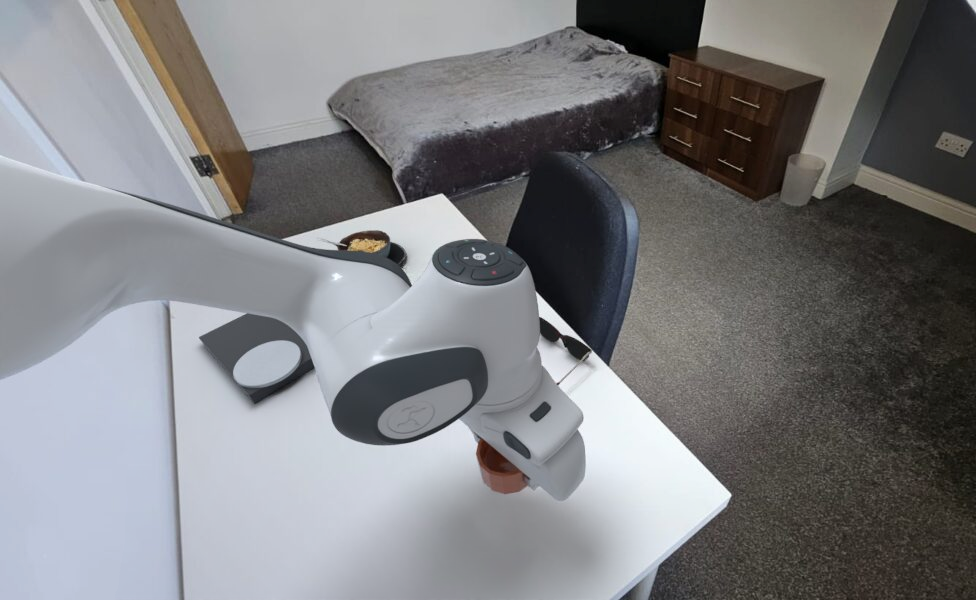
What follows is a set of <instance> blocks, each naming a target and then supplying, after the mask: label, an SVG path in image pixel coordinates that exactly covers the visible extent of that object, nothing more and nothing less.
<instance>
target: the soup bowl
mask: <svg viewBox="0 0 976 600" xmlns="http://www.w3.org/2000/svg"><path fill="white" fill-rule="evenodd" d="M314 239H315V241H318V242H324V243H328V244H331V245H333V246H335V247H336V248H337V250H347V251H363V252H370V253H374V254H378V255H381V256H384V257H386V258H388V259H390V260H392V261H393V262H395V263H396V264H397V265H399V266H400V264H401V263H403V262H404V261H405V259H406V254H407V253H406V249H404V247H403V246H402V245H400V244H399V243H396V242H393V241H391V237H390V236H389V234H387V233H386V232H385V231H383V230H379V229H377V230H376V229H375V230H374V229H373V230H372V229H369V230H362V231H358V232H354V233H351V234H349V235H347V236H346V237H343V238H341V240H340V241H339V242H337V241H334V240H331V239H327V238H322V237H315V238H314Z"/></svg>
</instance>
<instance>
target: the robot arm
mask: <svg viewBox="0 0 976 600" xmlns="http://www.w3.org/2000/svg"><path fill="white" fill-rule="evenodd" d="M152 301H153V302H157V301H163V302H164V301H165V302H167V301H168V302H178V303H185V304H190V305H194V306H195V305H196V306H202V307H207V308H214V309H219V310H225V311H231V312H237V313H243V314H247V313H248V314H254V315H260V316H266V317H271V318H275V319H278V320H280V321H282V322H284V323H285V324H287V325H288V326H289V327H291V328H292V329H293V330H294V331H295V332H296V333H297V334H298V335H299V336H300V337H301V338H302V339H303V341H304V342H305V343H306V345H307V347H308V350H309V353H310V356H311V358H312V361H313V364H314V370H315V372H316V373H315V374H316V378H317V382H318V385H319V387H320V391H321V394H322V397H323V399H324V402H325V405H326V408H327V410H328V413H329V415H330V417H331V422H332V424H333V426H334V428H335V430H337V432H338V433H339V434H341V435H342V436H344V437H345V438H348V439H349V440H352V441H355V442H357V443H361V444H365V445H370V446H384V447H385V446H399V445H405V444H411V443H415V442H417V441H421V440H422V439H425V438H427V437H430V436H432V435H434V434H436V433H438V432H440V431H442V430H444V429H446V428H447V427H449V426H451V425H452V424H454V423H455V422H456V421H458V420H459V421H461V423H463V424H464V425H465V426H466V427H468V429H469V431H470V432H471V434H472V435H473V439H474V441H475V442H476V443H477V444H478V442H479V440H480V439H481V438H482V439H484V440H485V441H486V442H487V443H488V444H490V445H491V446H492V447H493V448H494V449H496V450H497V451H498V452H499V453H500V454H502V455H503V456H504V457H505V458H506V459H508V460H509V461H510V462H511V463H512V464H513V465H515V466H516V467H517V468H518V469H519V470H521V471H522V472H523V473H524V474H525V475H524V480H525V481H524V483H526V484H527V485H528V486H527V487H528V488H530V489H531V490H532V491H536V490H537V489H538V488H541V489H542V490H543V491H544V492H545V493H547V494H548V495H549V496H550V497H551V498H553V499H554V500H556V501H558V502H564V501H566V500H567V499H569V498H570V497H571V496H572V494H574V492H575V491H576V490H577V489H578V488H579V487H580V485H581V484H582V482H583V481H584V479H585V476H586V465H587V464H586V463H587V461H586V457H587V456H586V446H585V441H584V438H583V436H582V434H581V432H580V431H579V428H580V427H581V425H582V424H583V423H584V417H585V416H584V412H583V411H582V409H581V408H580V407H579V406H578V404H577V403H575V402H574V401H573V400H572V399H571V398H570V397H569V396H568V395H567V393H565V392H564V391H563V390H562V388H561V387H560V386H559V385H557V384H556V383H557V382H556V381H555V380H554V378H553V377H552V375H551V374H550V372H549V371H548V370H547V368H546V367H545V366H544V365H543V361H542V357H541V353H540V351H539V349H538V346H539V343H540V339H541V338H540V337H541V334H540V321H539V317H540V313H539V312H540V310H539V303H538V296H537V291H536V285H535V282H534V278H533V275H532V272H531V270H530V267H529V266H528V264H527V263H526V261H525V260H524V259H523V258H522V257H521V256H520V255H519V254H517V253H516V252H515V251H514V250H513V249H511V248H509V247H508V246H506V245H503V244H502V243H500V242H495V241H492V240H487V239H484V238H483V239H482V238H481V239H480V238H465V239H458V240H454V241H453V240H452V241H450V242H447V243H445V244H443V245H441V246H439V247H438V248H437V249H436V250H435V251H433V253H432V255H431V256H430V258H429V261H428V263H427V266H426V268H425V269H424V271H422V273H421V274H420V276H419V277H418V278H417V279H416V280H415V282H413V284H412V282H411V280H410V277H409V276H408V274H407V273H406V272H405V270H404V269H403V267H401V266H400V264H399V265H397V264H396V263H395V262H393V261H392V260H390V259H388V258H386V257H384V256H381V255H378V254H374V253H370V252H363V251H347V250H338V249H325V248H316V247H311V246H305V245H302V244H298V243H295V242H292V241H288V240H285V239H282V238H278V237H276V236H273V235H270V234H266V233H263V232H260V231H256V230H253V229H251V228H247V227H244V226H240V225H238V224H234V223H231V222H228V221H225V220H222V219H219V218H217V217H213V216H210V215H206V214H203V213H200V212H197V211H193V210H190V209H187V208H184V207H180V206H178V205H174V204H170V203H168V202H163V201H160V200H157V199H153V198H150V197H146V196H142V195H140V194H139V195H138V194H135V193H130V192H126V191H122V190H119V189H114V188H111V187H108V186H103V185H98V184H94V183H92V182H91V183H90V182H87V181H83V180H80V179H75V178H72V177H68V176H65V175H62V174H58V173H55V172H51V171H49V170H46V169H42V168H39V167H38V166H37V167H36V166H33V165H31V164H29V163H28V164H27V163H24V162H23V161H22V162H21V161H18V160H15V159H13V158H10V157H6V156H4V155H0V381H2V380H4V379H7V378H9V377H11V376H14V375H17V374H19V373H22V372H24V371H27V370H28V369H31V368H32V367H35V366H37V365H39V364H41V363H43V362H44V361H47V360H48V359H50V358H51V357H53V356H55V355H57V354H58V353H60V352H61V351H63V350H64V349H66V348H68V347H69V346H71V345H72V344H73V343H74V342H76V341H77V340H79V339H80V338H81V337H82V336H83V335H84V334H86V333H87V332H88V331H89V330H91V329H92V328H93V327H94V326H95V325H96V324H98V323H99V322H100V321H102V320H103V319H104V318H106V317H107V316H108V315H110V314H111V313H114V312H115V311H118V310H120V309H122V308H124V307H127V306H128V307H129V306H131V305H134V304H139V303H145V302H152Z"/></svg>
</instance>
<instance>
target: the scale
mask: <svg viewBox="0 0 976 600" xmlns="http://www.w3.org/2000/svg"><path fill="white" fill-rule="evenodd" d="M198 339H199V341H201V343H202V344H203V346H204V347H205V348H206V349H207V350H208V351H209V352H210V354H211V355H212V356H213V357H214V358H215V360H217V363H219V364H220V366H221V367H222V368H223V369H224V370H225V371H226V373H228V374H229V376H230V377H231V378H232V379H233V380H234V382H235V383H236V384H237V386H238V387H240V389H241V390H242V391H243V393H245V394H246V396H247V397H248V398H249V399H250V400H251V401H252V403H253V404H256V403H259V402H260V401H262V400H263V399H265V398H267V397H269V396H270V395H272V394H274V393H275V392H276V391H278V390H280V389H282V388H283V387H285V386H286V385H288V384H290V383H292V382H293V381H294V380H296V379H298V378H300V377H301V376H303V375H304V374H306V373H308V372H310V371H311V370H313V369H315V367H314V364H313V361H312V358H311V356H310V353H309V350H308V347H307V345H306V343H305V342H304V341H303V339H302V338H301V337H300V336H299V335H298V334H297V333H296V332H295V331H294V330H293V329H292V328H291V327H289V326H288V325H287V324H285V323H284V322H282V321H280V320H278V319H275V318H271V317H266V316H260V315H254V314H248V313H244V314H243V315H241V316H239V317H237V318H235V319H232V320H231V321H229V322H227V323H224V324H223V325H220V326H218V327H216V328H214V329H212V330H210V331H208V332H206V333H204V334H202V335H200V336H199V337H198Z"/></svg>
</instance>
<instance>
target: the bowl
mask: <svg viewBox="0 0 976 600" xmlns="http://www.w3.org/2000/svg"><path fill="white" fill-rule="evenodd" d="M475 456H476V461H477V465H478V469H479V474H480V476H481V480H482V483H483V484H484V485H485V486H486V487H487V488H488V489H489V490H491V491H492V492H493V493H498V494H501V495H510V494H515V493H519V492H521V491H523V490H524V489H525V488H527V487H529V486H528V485H527V484H526V483H524V481H525V480H524V475H525V474H524V473H523V472H522V471H521V470H519V469H518V468H517V467H516V466H515V465H513V464H512V463H511V462H510V461H509V460H508V459H506V458H505V457H504V456H503V455H502V454H500V453H499V452H498V451H497V450H496V449H494V448H493V447H492V446H491V445H490V444H488V443H487V442H486V441H485V440H484V439H482V438H481V439H480V440H479V442H478V443H477V446H476V451H475Z"/></svg>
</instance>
